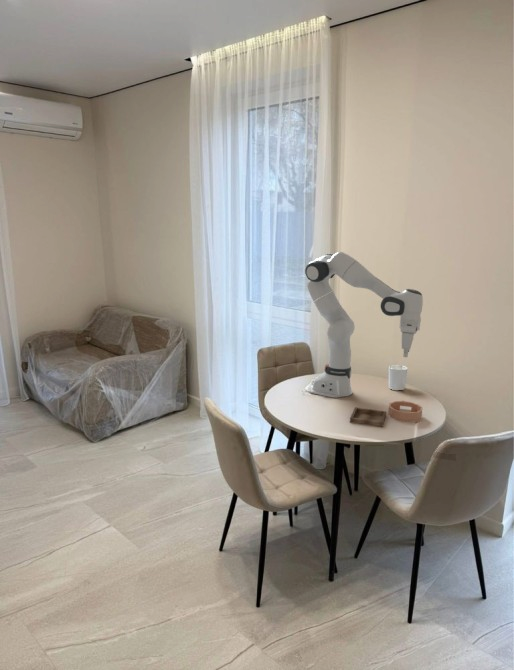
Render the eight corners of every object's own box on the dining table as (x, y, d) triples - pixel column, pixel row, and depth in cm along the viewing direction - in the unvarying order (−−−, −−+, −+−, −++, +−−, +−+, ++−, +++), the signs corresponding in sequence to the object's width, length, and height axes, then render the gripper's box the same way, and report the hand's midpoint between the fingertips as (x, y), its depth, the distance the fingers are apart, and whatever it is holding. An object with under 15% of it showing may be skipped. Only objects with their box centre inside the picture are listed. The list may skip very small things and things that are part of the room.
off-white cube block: (399, 415, 223) (399, 408, 222) (399, 412, 226) (400, 405, 225) (410, 417, 221) (411, 410, 220) (410, 414, 225) (411, 407, 224)
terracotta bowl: (386, 420, 219) (387, 410, 218) (389, 409, 233) (390, 399, 232) (420, 425, 215) (421, 414, 213) (422, 413, 228) (422, 403, 227)
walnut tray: (349, 424, 215) (350, 418, 214) (354, 413, 227) (355, 407, 227) (382, 429, 210) (382, 422, 209) (385, 417, 223) (386, 411, 222)
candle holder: (408, 387, 264) (410, 366, 262) (402, 392, 256) (404, 370, 253) (390, 384, 269) (391, 363, 267) (384, 389, 261) (386, 367, 259)
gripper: (404, 320, 234) (401, 348, 237) (400, 328, 215) (397, 358, 218) (418, 321, 232) (414, 350, 235) (415, 330, 213) (411, 360, 216)
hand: (406, 354), depth 226 cm, fingers open, 8 cm apart
